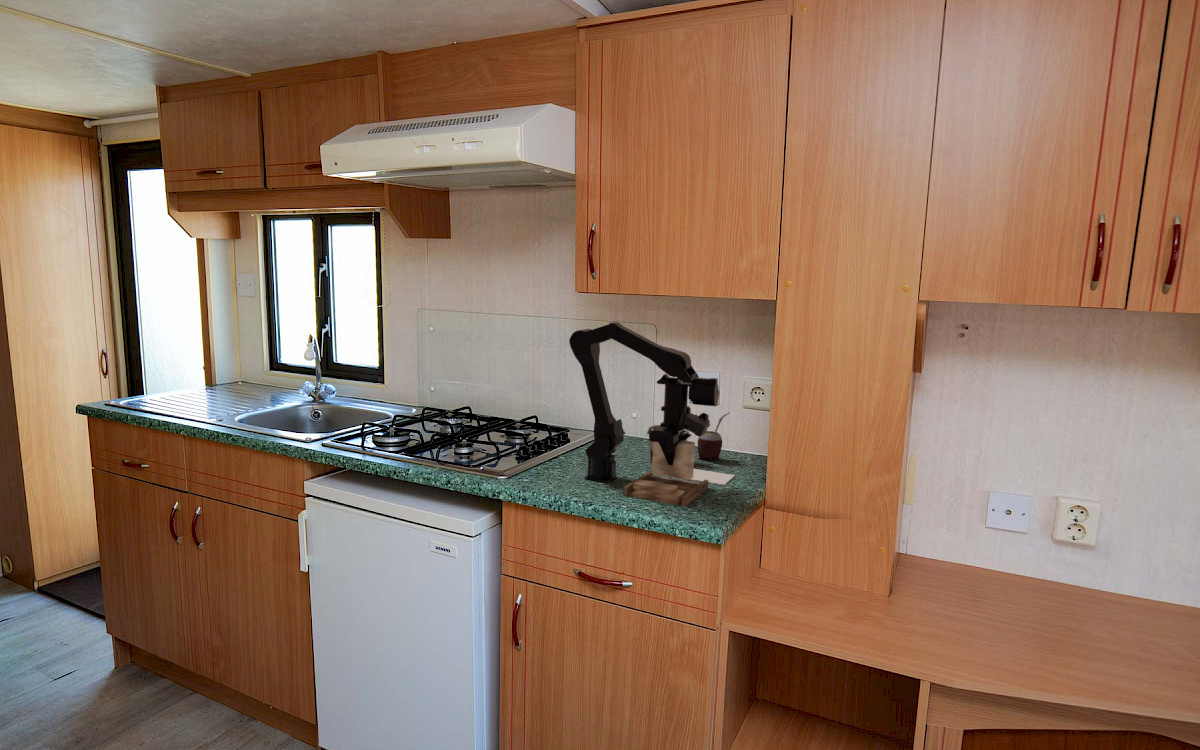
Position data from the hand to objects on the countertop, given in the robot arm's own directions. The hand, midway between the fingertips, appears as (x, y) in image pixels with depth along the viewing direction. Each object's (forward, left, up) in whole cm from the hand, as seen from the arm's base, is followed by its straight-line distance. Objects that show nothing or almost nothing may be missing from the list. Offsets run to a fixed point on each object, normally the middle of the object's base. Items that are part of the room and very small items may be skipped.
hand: (672, 463), depth 179 cm
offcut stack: (0, -9, -7) cm, 11 cm away
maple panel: (0, 0, -3) cm, 3 cm away
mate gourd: (0, +32, -6) cm, 33 cm away
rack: (0, -4, -6) cm, 7 cm away
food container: (-11, +24, -6) cm, 27 cm away
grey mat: (+5, +14, -6) cm, 16 cm away
